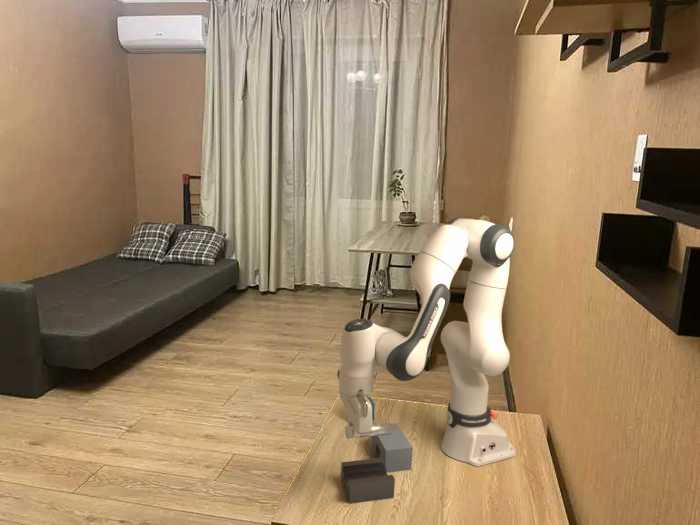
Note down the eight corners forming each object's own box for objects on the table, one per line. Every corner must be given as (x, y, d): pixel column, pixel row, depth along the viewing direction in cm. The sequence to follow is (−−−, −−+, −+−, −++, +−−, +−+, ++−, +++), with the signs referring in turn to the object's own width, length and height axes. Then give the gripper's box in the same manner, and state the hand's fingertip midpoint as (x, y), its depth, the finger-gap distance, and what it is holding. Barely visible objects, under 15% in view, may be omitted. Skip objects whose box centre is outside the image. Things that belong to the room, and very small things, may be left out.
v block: (382, 475, 147) (383, 457, 146) (393, 497, 138) (394, 479, 137) (340, 480, 144) (341, 462, 143) (349, 503, 135) (350, 484, 134)
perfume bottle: (348, 422, 175) (349, 389, 173) (358, 415, 180) (360, 382, 178) (363, 428, 172) (365, 394, 169) (373, 420, 177) (375, 388, 174)
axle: (388, 431, 141) (389, 420, 140) (392, 436, 138) (392, 426, 138) (345, 435, 138) (345, 424, 137) (348, 440, 135) (348, 430, 135)
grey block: (395, 443, 164) (396, 422, 162) (411, 469, 150) (412, 447, 149) (370, 445, 162) (371, 425, 160) (384, 472, 148) (385, 450, 147)
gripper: (380, 400, 125) (377, 452, 128) (358, 365, 144) (356, 412, 147) (354, 402, 123) (351, 454, 126) (335, 367, 143) (334, 413, 146)
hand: (354, 431), depth 137 cm, fingers closed on axle, 3 cm apart
